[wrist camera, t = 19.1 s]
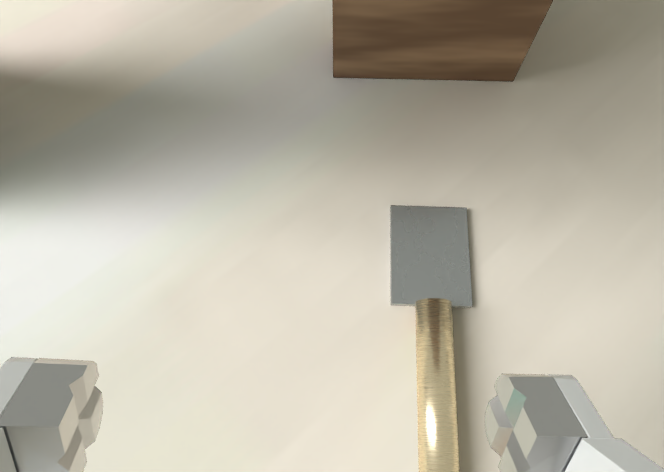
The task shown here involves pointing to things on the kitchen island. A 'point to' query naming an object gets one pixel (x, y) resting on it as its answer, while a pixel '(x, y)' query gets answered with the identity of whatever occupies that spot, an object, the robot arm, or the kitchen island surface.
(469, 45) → the lidded wooden box
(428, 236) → the brass handle with plate
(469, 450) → the kitchen island surface
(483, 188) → the kitchen island surface
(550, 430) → the robot arm
